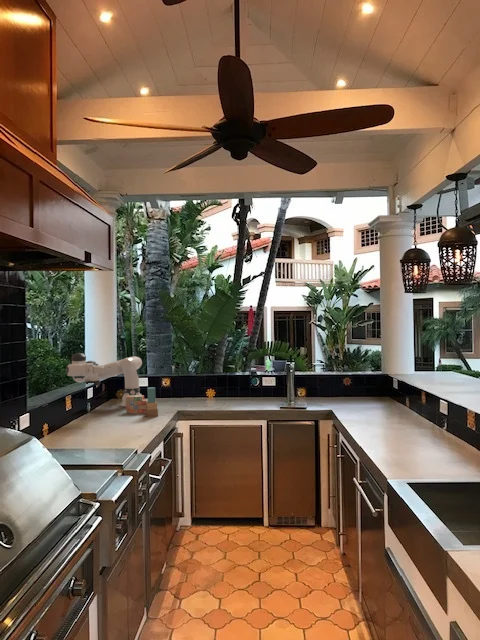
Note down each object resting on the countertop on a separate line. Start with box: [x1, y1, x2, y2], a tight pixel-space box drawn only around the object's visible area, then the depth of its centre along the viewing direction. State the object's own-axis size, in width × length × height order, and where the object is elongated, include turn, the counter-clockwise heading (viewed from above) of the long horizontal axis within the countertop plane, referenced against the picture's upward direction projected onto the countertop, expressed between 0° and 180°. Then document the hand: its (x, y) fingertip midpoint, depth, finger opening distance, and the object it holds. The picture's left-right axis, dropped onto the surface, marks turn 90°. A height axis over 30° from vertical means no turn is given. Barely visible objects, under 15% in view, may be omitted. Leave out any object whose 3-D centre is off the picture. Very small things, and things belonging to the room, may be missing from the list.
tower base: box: [144, 408, 159, 418], centre depth 342 cm, size 8×8×5 cm
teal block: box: [147, 386, 157, 403], centre depth 342 cm, size 5×5×10 cm
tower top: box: [146, 401, 158, 410], centre depth 342 cm, size 7×7×5 cm
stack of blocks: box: [125, 394, 148, 414], centre depth 356 cm, size 21×6×12 cm, turn 83°
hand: (110, 368), depth 344 cm, fingers open, 8 cm apart
